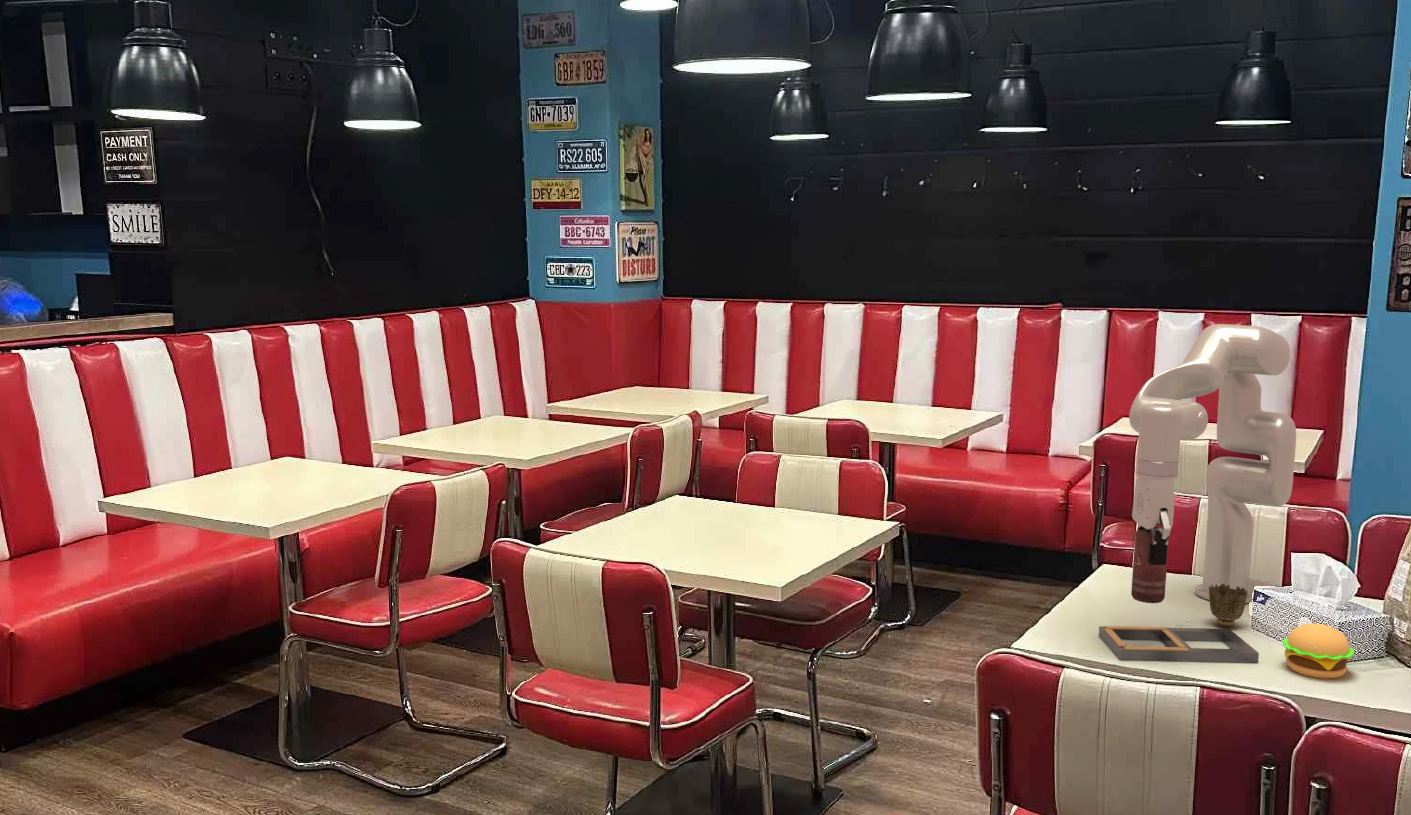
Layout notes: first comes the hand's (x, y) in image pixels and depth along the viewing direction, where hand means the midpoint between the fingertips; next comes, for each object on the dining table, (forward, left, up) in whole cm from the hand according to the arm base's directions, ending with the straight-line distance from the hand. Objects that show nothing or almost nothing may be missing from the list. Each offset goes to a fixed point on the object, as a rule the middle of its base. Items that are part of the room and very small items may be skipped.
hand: (1151, 558), depth 236 cm
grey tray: (-6, 0, -18) cm, 19 cm away
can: (0, 0, -8) cm, 8 cm away
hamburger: (-29, +10, -19) cm, 35 cm away
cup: (-22, -15, -18) cm, 32 cm away
